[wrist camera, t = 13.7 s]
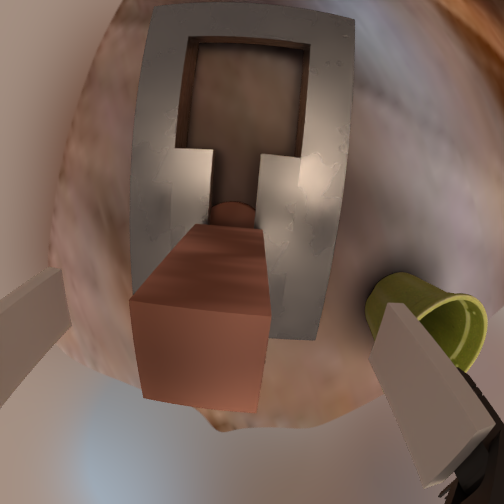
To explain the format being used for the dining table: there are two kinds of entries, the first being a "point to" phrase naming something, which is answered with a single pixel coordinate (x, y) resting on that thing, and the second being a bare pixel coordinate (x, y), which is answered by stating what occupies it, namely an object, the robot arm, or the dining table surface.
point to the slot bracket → (271, 166)
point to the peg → (206, 316)
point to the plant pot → (433, 315)
